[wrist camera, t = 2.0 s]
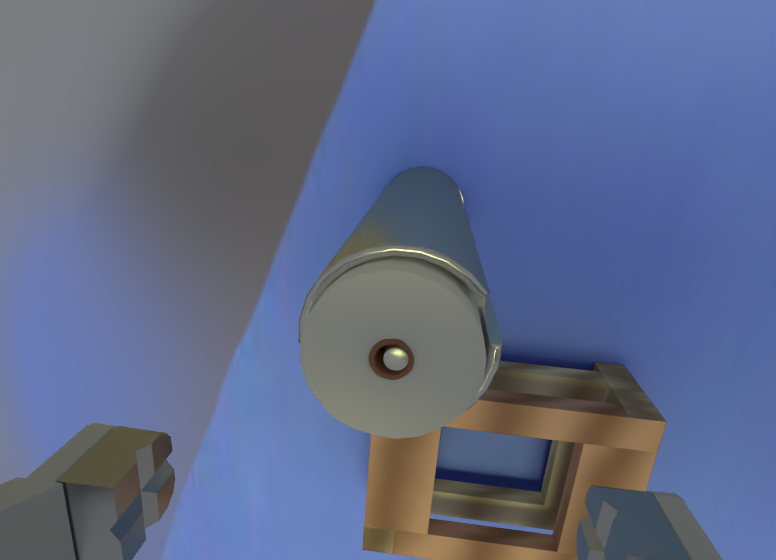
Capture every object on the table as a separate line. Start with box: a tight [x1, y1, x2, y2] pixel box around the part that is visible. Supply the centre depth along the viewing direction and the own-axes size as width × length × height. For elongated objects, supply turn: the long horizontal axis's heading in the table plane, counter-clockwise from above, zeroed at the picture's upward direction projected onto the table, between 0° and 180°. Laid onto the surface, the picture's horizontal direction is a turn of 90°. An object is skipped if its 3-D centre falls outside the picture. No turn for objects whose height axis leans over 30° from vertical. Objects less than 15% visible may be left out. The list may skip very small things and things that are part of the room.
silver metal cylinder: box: [299, 167, 503, 439], centre depth 26 cm, size 6×6×25 cm
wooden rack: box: [362, 361, 667, 560], centre depth 40 cm, size 20×15×8 cm
